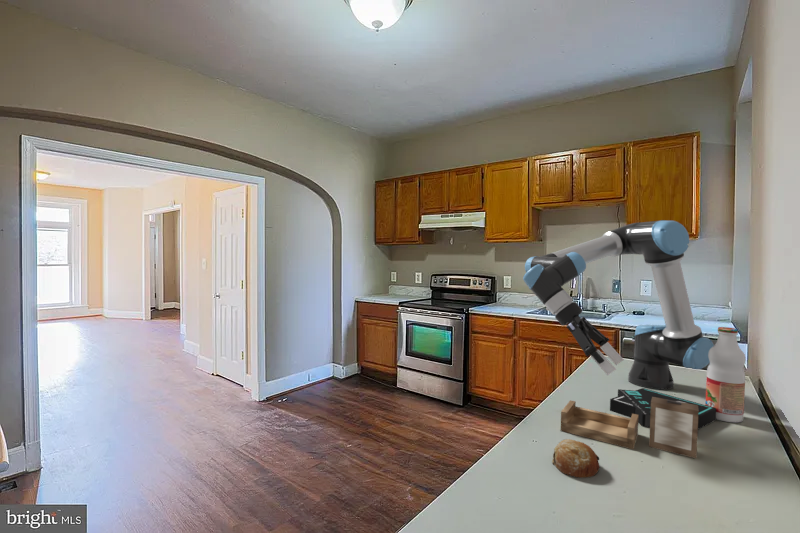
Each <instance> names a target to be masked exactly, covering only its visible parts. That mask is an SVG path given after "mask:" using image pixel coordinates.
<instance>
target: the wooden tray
mask: <svg viewBox="0 0 800 533" xmlns="http://www.w3.org/2000/svg"><path fill="white" fill-rule="evenodd" d="M560 432H563V433H564V432H565V433H568V434H572V435H576V436H580V437H584V438H588V439H591V440H595V441H600V442H603V443H606V444H611V445H613V446H614V445H615V446H617V447H618V446H619V447H623V448H626V449H630V450H634V449H635V445H636V442H637V438H638V434H639V423H638V415H637V414H632V416H631V418H630V417H627V416H621V415H616V414H612V413H606V412H603V411H600V410H599V411H598V410H595V409H594V410H593V409H590V408H589V409H588V408H586V407H585V408H584V407H582V406H581V407H580V406H576V401H574V400H569V401H568V402H567V404H566V405H565V406H564V407H563V409H561V411H560Z"/></svg>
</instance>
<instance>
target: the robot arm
mask: <svg viewBox="0 0 800 533" xmlns="http://www.w3.org/2000/svg"><path fill="white" fill-rule="evenodd" d="M689 244H690V234H689V232H688V230H687V228H686V227H685V226H684V225H683V224H682V223H680V222H679V221H676V220H665V219H664V220H663V219H661V220H655V221H654V220H653V221H644V222H643V221H642V222H633V223H630V224H626V225H623V226H620V227H618V228H615V229H612V230H608V231H606V232H604V233H603V234H602V236H600V237H596V238H594V239H591V240H587V241H584V242H581V243H577V244H575V245H571V246H569V247H566V248H563V249H559V250H557V251H553V252H550V253H547V254H544V255H542V256H541V255H540V256H538V255H536V256H530V257H529V258H527V260H526V261H525V264H524V270H525V274H524V275H523V278H522V280H523V282H524V283H525V285H527V287H528V289H529V290H531V292H532V293H533V294H534V295H535V297H536V298H538V300H539V301H540V302H541V303H542V304H543V305H544V306H545V307H546V308H545V309H546V311H547V312H550V313H551V314H552V315H553V316H554V317H555V319H556V320H557V322H558V323H559V324H560V325H561V326H563V327H564V326H566V328H567V329H568V331H569V332H570V333H571V334H572V336H573V338H574V339H575V340H576V342H577V344H578V345H579V347H580V348H581V350H582V351H583V353H584V356H586V357H587V358H588V357H591V358H592V359H593V361H594V362H595V363H596V364H597V365H598V366H599V367H600V369H601V370H602V371H603V372H604V373H605V374H606V376H608V375H610V374H612V373H613V372H614V371H616V370H617V369H616V367H615V366H617V365H619V364H621V363H622V362H623V361H624V358H623V357H622V356H621V355H620V353H618V352H617V350H616V349H615V348H614V347H613V346H612V345H611V343H610V342H609V341H610V338H609V337H606V336H605V335H604V334H603V333H602V332H601V331H600V330H599V329H597V328H596V327H595V326H594V325H593V324H592V323H591V322H589V320H587V318H586V317H585V316H581V317H580V315H581V314H582V313H583V309H582V308H581V306H579V305H578V303H577V302H575V301H574V300H573V298H572V297H571V296H570V294H569V293H568V292H567V291H566V290H565V289H564V288H563V286H565V285H566V284H568V283H569V282H570V281H573V280H574V279H575V278H577V277H579V275H581V274H583V273H584V272H585V271H586V269H587V264H589V263H592V262H595V261H598V260H601V259H604V258H607V257H611V258H612V257H613V258H614V257H615V258H616V257H619V256H624V255H642V256H643V260H644V263H645V264H646V265H648V266H650V267H651V271H652V275H653V278H654V283H655V287H656V291H657V295H658V299H659V303H660V307H661V313H662V317H663V321H664V324H665V325H664V324H639V325H637V326H636V327H635V331H634V345H633V346H634V347H633V348H634V350H633V352H634V353H633V356H634V358H633V364H632V366H631V368H630V371H629V372H628V375H627V376H628V379H627V380H628V382H630V383H631V384H633V385H636V386H639V387H642V388H646V389H654V390H672V389H674V383H675V382H674V378H673V376H672V375H673V374H672V372H671V370H670V366H669V365H670V364H673V365H674V364H675V365H678V366H681V367H684V368H685V369H692V370H702V369H704V368H706V367H708V366H709V364H710V361H709V358H708V352H709V350H710V349H711V348H712V347H713V346H714V345H715V344H714V343H713V340H711V339H710V338H708V337H706V336H704V335H703V331H702V328H701V327H700V326H699V325H697V324H696V323H695V321H694V316H693V312H692V308H691V307H692V306H691V304H690V298H689V295H688V294H689V293H688V291H687V290H688V289H687V286H686V281H685V276H684V273H683V270H682V269H683V268H682V264H681V260H682V259H683V258H684V257H685V253H686V252H687V251H688V248H689ZM594 343H595V344H597V345H598V346H600V347H599V348H600V349H601V350H602V351H600V349H597V347H596V346H595V344H594ZM604 354H605V355H606V356H605V355H604ZM607 357H608V358H607ZM609 359H610V361H611V362H612V363H613V364H614V365H615V366H614V365H613V364H612V363H611V362H610V361H609Z"/></svg>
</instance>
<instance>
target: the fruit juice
mask: <svg viewBox="0 0 800 533" xmlns="http://www.w3.org/2000/svg"><path fill="white" fill-rule="evenodd" d="M717 333H718V337H717V340H716V341H715V344H713V345H714V346H713V347H712V348H711V349H710V350H709V352H708V358H709V361H710V362H709V364H708V365H707V368H706V379H705V380H706V383H705V384H706V385H705V404H704V405H707V406H710V407H714V408H716V420H717V421H723V422H726V423H734V424H735V423H741V422H743V420H744V416H745V414H744V411H745V394H746V373H745V370H744V366H745V364H746V354H745V352H743V350H742V348H740V346H739V343H738V341H737V336H738V334H739V330H738V329H737V328H736V327H735V328H734V327H726V326H718V328H717Z"/></svg>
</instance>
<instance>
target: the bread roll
mask: <svg viewBox="0 0 800 533" xmlns="http://www.w3.org/2000/svg"><path fill="white" fill-rule="evenodd" d="M599 461H600V457H599V456H598V455H597V454H596V452H595V451H594V450H593V448H592V447H590V446H589V445H588V444H586V443H584V442H582V441H579V440H575V439H570V438H569V439H567V438H565V439H563V440H561V441H560V442H558V444H557V445H556V446H555V448H553V453H552V460H551V463H552V465H554V466H555V467H556V469H557V470H559V471H560V472H561V473H563V474H565V475H566V474H567V475H566V476H569V475H570V476H569V477H573V476H574V478H578V477H579V478H581V479H582V478H591V477H594V476H595V475H597V473H598V471H599V469H600V463H599Z"/></svg>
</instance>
